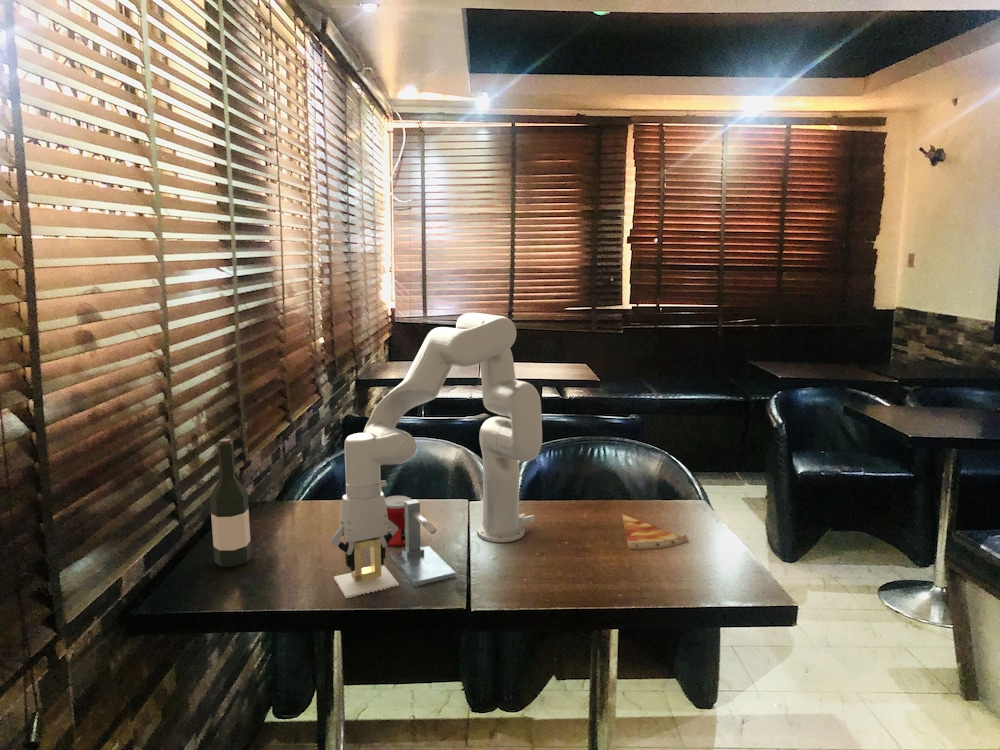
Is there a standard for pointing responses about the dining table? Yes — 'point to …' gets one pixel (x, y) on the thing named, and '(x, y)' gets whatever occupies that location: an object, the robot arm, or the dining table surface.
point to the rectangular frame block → (375, 557)
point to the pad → (365, 583)
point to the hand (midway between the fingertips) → (366, 564)
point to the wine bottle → (229, 513)
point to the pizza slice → (649, 535)
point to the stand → (419, 551)
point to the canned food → (397, 518)
